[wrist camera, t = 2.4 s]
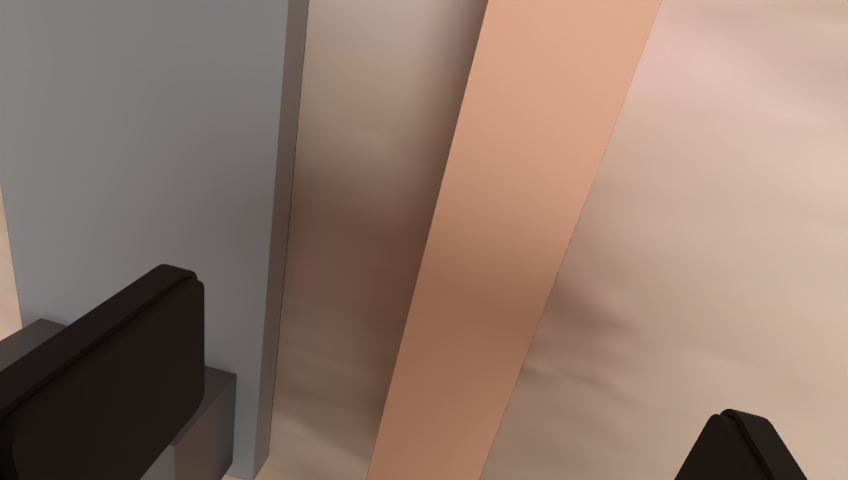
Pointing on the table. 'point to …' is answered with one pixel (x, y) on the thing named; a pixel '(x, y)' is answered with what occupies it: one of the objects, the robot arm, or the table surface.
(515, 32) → the slat
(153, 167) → the board
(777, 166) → the table surface
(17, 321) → the table surface
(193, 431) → the end caps
